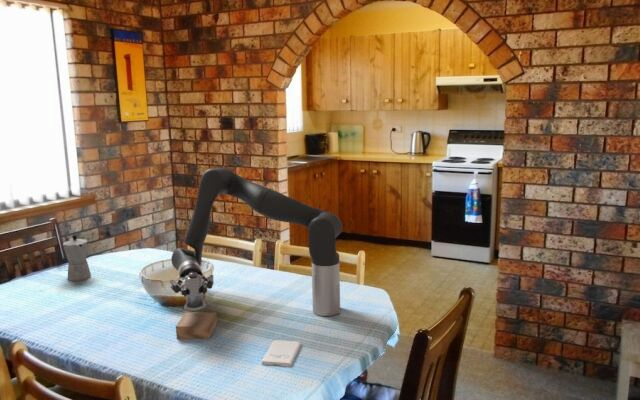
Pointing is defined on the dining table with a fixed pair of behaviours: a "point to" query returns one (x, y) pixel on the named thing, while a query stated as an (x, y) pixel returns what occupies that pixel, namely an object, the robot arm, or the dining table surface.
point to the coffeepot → (77, 259)
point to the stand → (196, 326)
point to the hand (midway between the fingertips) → (194, 292)
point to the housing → (194, 293)
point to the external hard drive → (281, 353)
